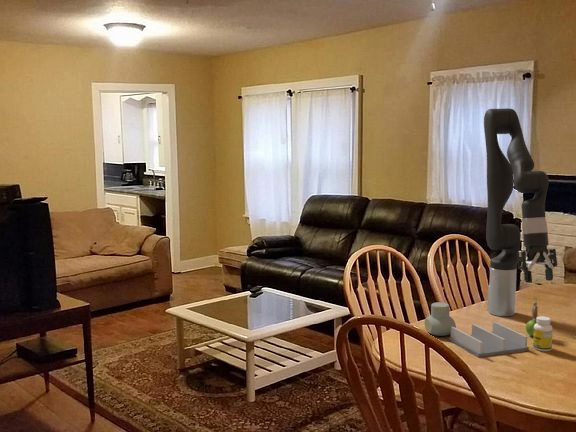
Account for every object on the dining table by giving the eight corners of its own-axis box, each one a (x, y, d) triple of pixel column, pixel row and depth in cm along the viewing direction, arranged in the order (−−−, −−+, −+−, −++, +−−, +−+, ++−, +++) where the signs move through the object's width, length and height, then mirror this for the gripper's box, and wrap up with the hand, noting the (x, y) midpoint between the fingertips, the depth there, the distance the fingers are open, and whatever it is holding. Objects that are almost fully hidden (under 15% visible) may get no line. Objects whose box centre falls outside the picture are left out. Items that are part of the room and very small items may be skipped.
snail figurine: (542, 333, 201) (543, 298, 200) (543, 339, 195) (545, 303, 194) (524, 331, 203) (526, 297, 202) (525, 337, 197) (527, 302, 196)
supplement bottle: (529, 346, 190) (530, 315, 188) (546, 345, 190) (547, 315, 189) (538, 352, 184) (539, 321, 183) (555, 351, 185) (556, 320, 183)
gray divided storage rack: (448, 340, 195) (448, 326, 195) (496, 334, 201) (496, 321, 200) (478, 357, 180) (478, 342, 180) (528, 350, 186) (529, 336, 185)
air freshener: (422, 329, 207) (423, 300, 206) (445, 328, 208) (446, 299, 207) (433, 339, 197) (433, 309, 195) (457, 338, 197) (458, 308, 196)
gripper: (543, 231, 204) (547, 279, 203) (509, 233, 199) (513, 282, 198) (560, 230, 197) (564, 280, 196) (526, 232, 192) (530, 283, 191)
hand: (539, 281), depth 197 cm, fingers open, 8 cm apart
